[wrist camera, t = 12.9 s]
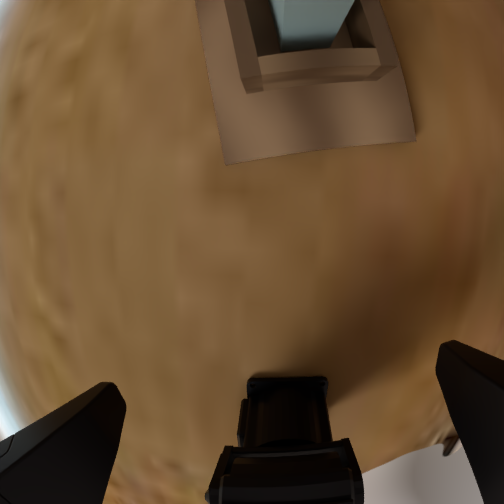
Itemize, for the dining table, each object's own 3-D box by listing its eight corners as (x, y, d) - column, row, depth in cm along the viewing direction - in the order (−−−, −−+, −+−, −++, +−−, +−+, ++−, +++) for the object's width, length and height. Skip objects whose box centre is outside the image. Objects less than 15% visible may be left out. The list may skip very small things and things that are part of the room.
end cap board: (343, -62, 12) (354, -93, 7) (409, 141, 17) (444, 139, 12) (189, -46, 13) (173, -78, 9) (227, 165, 18) (214, 166, 14)
